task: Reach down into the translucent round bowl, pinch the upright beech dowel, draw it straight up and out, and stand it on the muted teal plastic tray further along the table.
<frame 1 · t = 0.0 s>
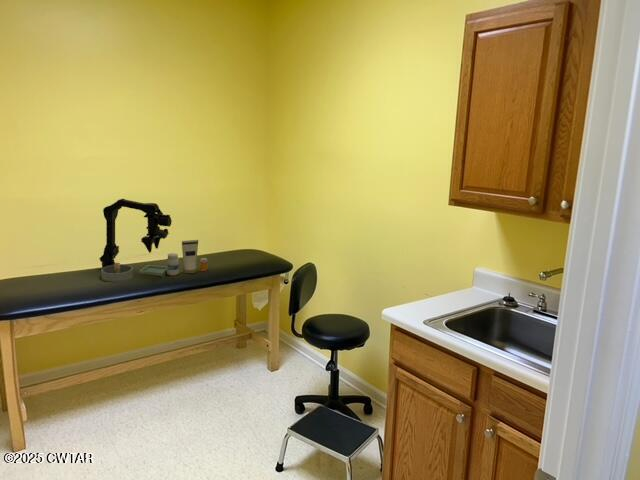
hand: (153, 250, 267), 15 cm above the table, fingers open, 9 cm apart
translucent round bowl: (117, 277, 260), on the table
toiletry set: (187, 272, 278), on the table
dowel pin: (117, 276, 260), point 1 cm above the table, touching translucent round bowl
tray: (154, 272, 273), on the table
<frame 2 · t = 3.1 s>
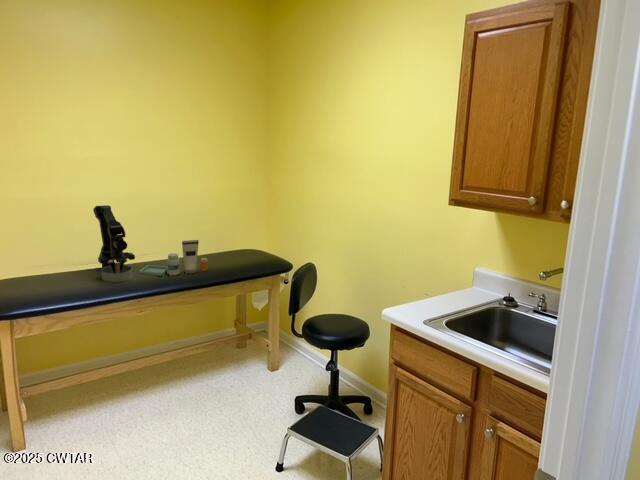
hand: (117, 272, 259), 4 cm above the table, fingers closed on dowel pin, 3 cm apart
dowel pin: (117, 276, 260), point 1 cm above the table, touching translucent round bowl, gripper
everything else where it was.
when the fingers open (5 cm above the table, at t = 8.7 s): dowel pin drops 1 cm, resting on tray.
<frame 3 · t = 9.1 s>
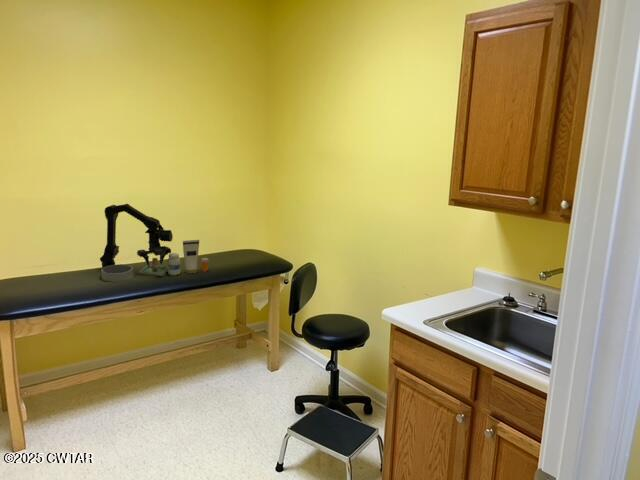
hand: (154, 265, 271), 5 cm above the table, fingers open, 7 cm apart
dowel pin: (154, 271, 272), point 1 cm above the table, touching tray
everything else where it was.
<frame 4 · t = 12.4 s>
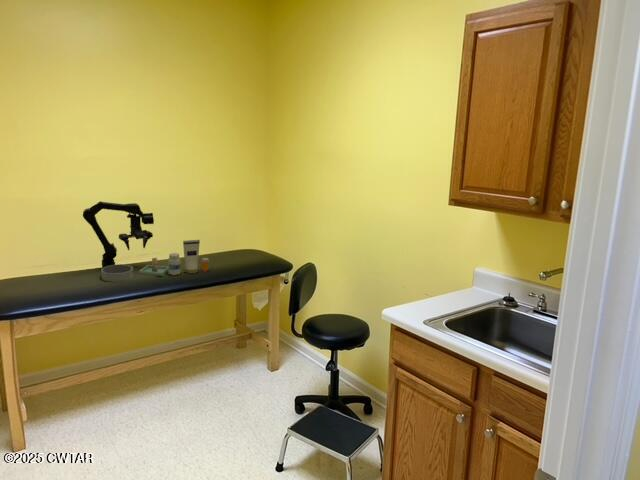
hand: (136, 249, 276), 12 cm above the table, fingers open, 9 cm apart
nothing on the table moved.
at the end: dowel pin inside the target area on the tray (0.1 cm from its centre), point 1.0 cm above the tray's base; dowel pin tilted 0°; the gripper is holding nothing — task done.
